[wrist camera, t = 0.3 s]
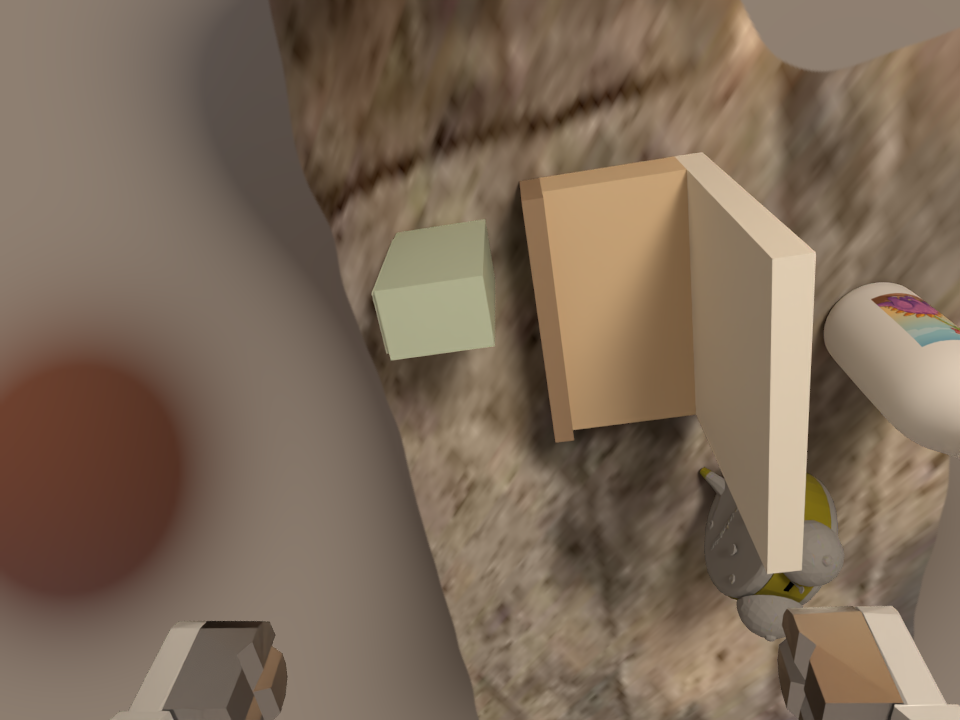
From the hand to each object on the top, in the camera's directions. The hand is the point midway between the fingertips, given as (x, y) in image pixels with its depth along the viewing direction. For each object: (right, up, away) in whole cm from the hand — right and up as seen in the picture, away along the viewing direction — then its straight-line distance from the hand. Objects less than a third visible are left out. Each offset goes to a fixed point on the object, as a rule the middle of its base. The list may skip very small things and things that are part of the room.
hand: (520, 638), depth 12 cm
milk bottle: (+31, +8, +49) cm, 58 cm away
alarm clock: (+22, -6, +56) cm, 61 cm away
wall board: (+11, +10, +48) cm, 50 cm away
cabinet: (-3, +13, +47) cm, 49 cm away
